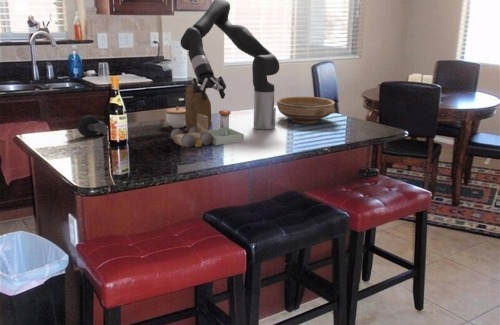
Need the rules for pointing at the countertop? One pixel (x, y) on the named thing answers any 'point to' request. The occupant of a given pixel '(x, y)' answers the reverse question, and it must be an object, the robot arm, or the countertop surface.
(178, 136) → the trolley
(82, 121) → the caster wheel
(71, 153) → the countertop surface
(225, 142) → the tray
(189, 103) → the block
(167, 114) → the lidded jar
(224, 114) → the copper topped glass grinder
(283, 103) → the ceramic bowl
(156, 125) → the countertop surface
